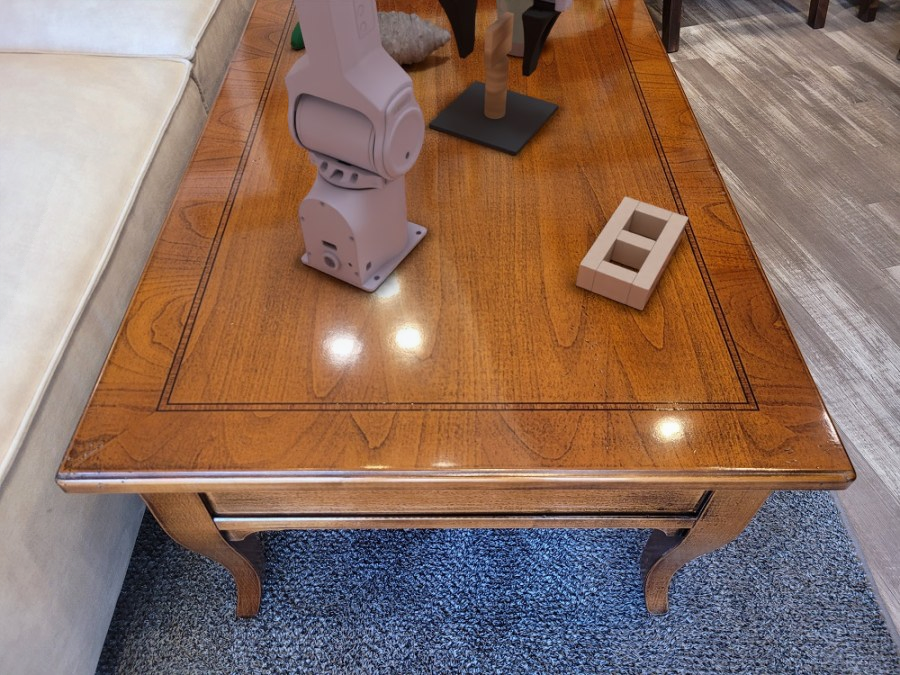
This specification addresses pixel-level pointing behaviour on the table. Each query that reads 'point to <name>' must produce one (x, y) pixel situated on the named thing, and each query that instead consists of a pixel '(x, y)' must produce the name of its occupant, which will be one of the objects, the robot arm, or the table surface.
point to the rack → (631, 252)
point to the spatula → (497, 65)
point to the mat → (495, 133)
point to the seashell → (409, 36)
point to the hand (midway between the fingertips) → (497, 63)
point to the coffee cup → (515, 22)
